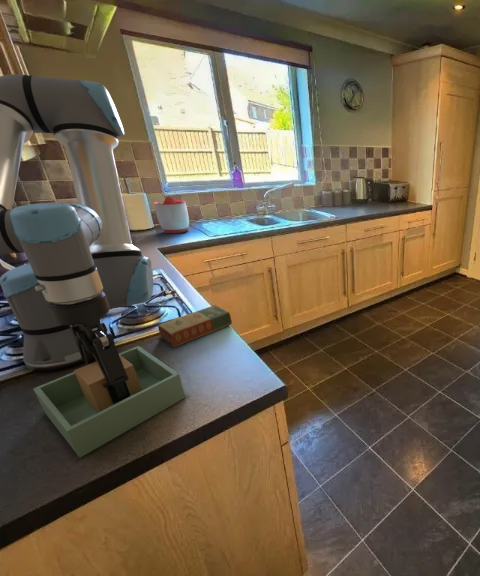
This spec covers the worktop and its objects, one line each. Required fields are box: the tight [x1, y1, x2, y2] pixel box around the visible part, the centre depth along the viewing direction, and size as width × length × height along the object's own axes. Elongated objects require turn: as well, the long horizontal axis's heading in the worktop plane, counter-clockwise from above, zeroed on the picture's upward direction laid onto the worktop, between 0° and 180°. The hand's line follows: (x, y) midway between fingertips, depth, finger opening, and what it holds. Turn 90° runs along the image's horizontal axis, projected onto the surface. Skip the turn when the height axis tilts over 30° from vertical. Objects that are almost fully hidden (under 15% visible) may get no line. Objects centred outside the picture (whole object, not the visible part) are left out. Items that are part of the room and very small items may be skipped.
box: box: [73, 355, 142, 413], centre depth 64 cm, size 7×7×8 cm
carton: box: [157, 304, 233, 348], centre depth 92 cm, size 8×16×4 cm, turn 144°
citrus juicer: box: [153, 195, 190, 235], centre depth 186 cm, size 16×17×20 cm
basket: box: [32, 345, 186, 458], centre depth 65 cm, size 18×18×6 cm
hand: (115, 398), depth 66 cm, fingers closed on box, 7 cm apart
